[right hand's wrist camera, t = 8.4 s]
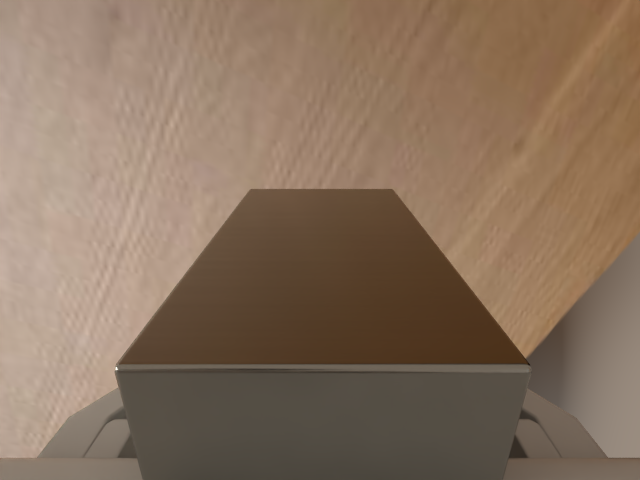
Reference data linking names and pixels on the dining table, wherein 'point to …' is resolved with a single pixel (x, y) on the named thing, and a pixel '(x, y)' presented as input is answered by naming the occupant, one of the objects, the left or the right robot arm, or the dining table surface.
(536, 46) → the dining table surface
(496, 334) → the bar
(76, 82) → the dining table surface
